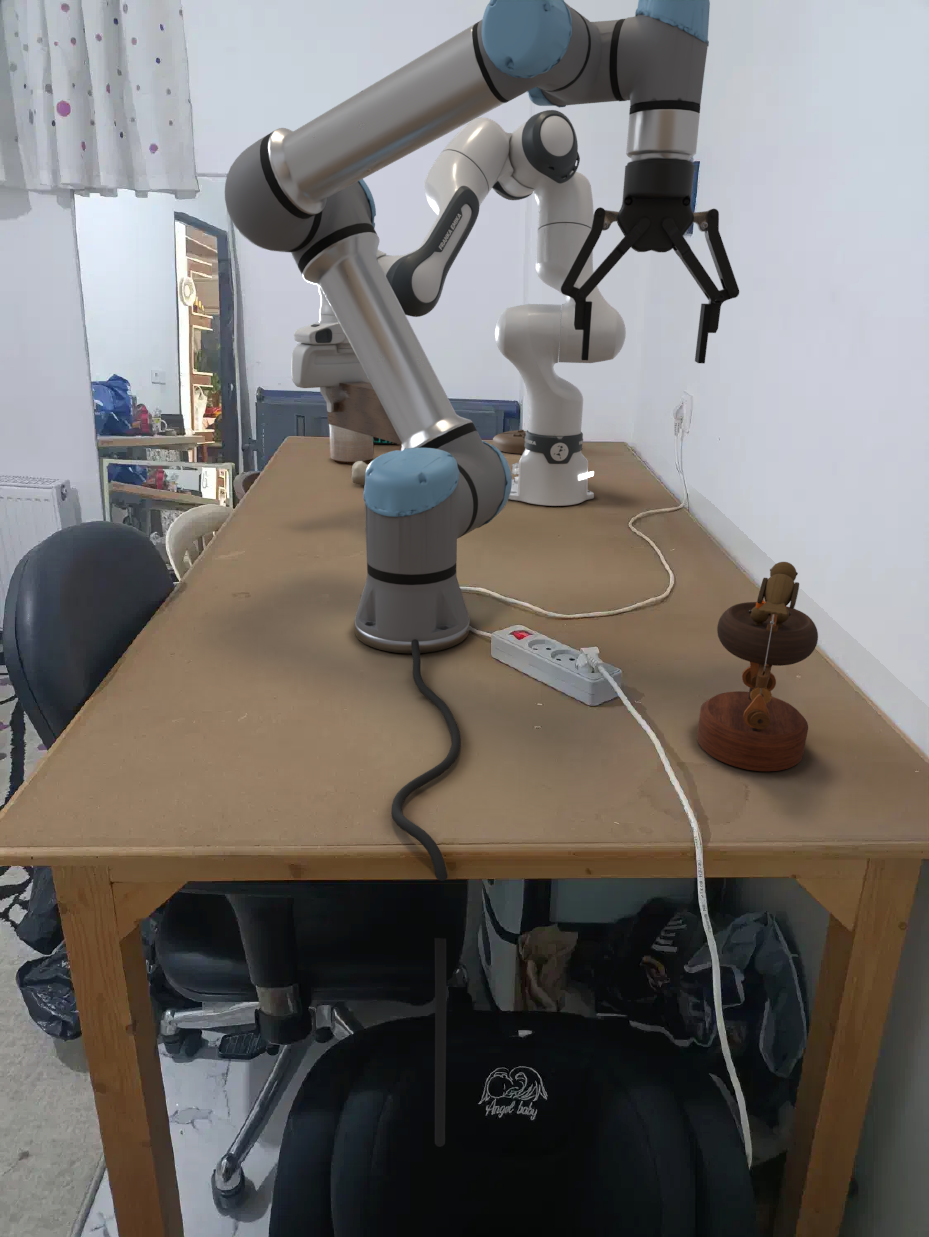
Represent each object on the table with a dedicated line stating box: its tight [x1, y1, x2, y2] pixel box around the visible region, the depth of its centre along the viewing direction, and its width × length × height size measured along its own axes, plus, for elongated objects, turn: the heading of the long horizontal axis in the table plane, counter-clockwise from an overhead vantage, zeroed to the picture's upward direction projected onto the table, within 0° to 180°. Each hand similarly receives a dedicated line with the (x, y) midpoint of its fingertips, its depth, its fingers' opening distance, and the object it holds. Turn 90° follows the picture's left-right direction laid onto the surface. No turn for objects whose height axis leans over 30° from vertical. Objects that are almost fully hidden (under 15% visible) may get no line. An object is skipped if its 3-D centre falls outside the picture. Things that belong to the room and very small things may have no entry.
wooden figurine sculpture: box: [696, 561, 819, 772], centre depth 84 cm, size 15×11×20 cm
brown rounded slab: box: [492, 428, 527, 455], centre depth 225 cm, size 21×28×4 cm
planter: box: [328, 424, 375, 464], centre depth 212 cm, size 11×11×10 cm
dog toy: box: [350, 461, 369, 485], centre depth 190 cm, size 20×6×5 cm, turn 99°
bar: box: [326, 381, 402, 446], centre depth 148 cm, size 28×5×8 cm, turn 36°
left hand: (641, 361), depth 101 cm, fingers open, 13 cm apart
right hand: (347, 410), depth 156 cm, fingers closed on bar, 5 cm apart
